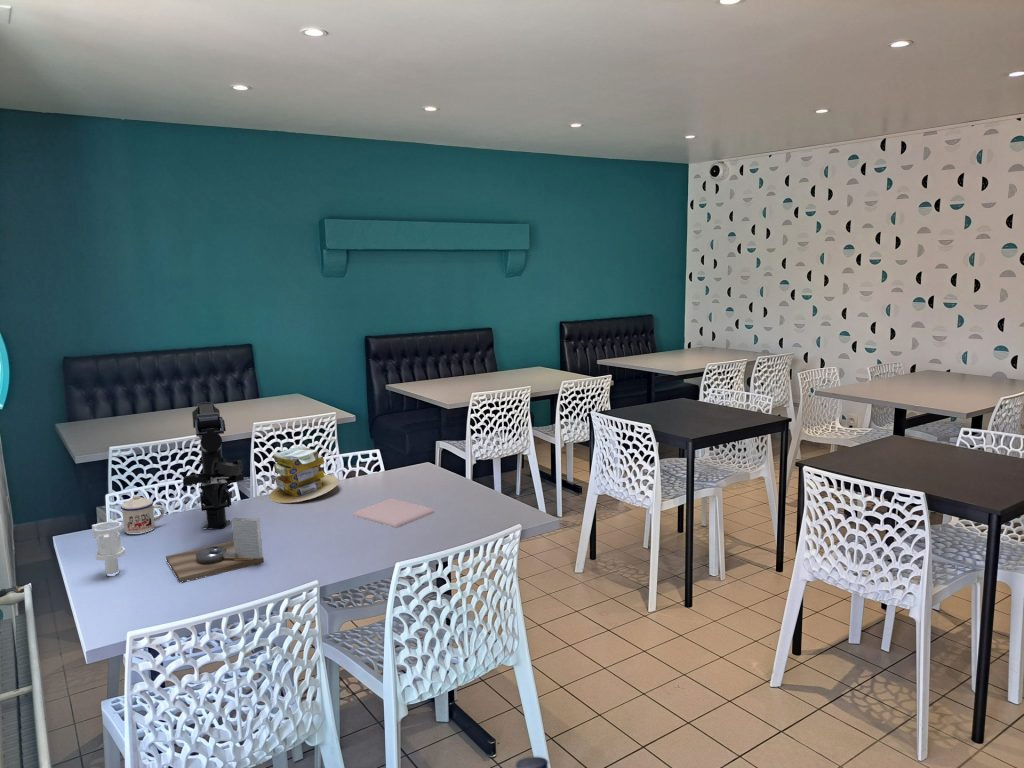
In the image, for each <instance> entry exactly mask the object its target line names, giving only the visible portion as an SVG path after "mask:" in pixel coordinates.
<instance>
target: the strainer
mask: <svg viewBox="0 0 1024 768" xmlns="http://www.w3.org/2000/svg"><path fill="white" fill-rule="evenodd" d="M122 523H123V522H121V521H115V520H113V521H112V520H111V521H105V522H103V521H101V522H99V523H96V524H95V523H94V524H91V529H92V530H91V531H92V536H93V539H96V545H97V551H96V552H95V554H94V555H95V559H96V560H98V561H104V566H105V574H113V573H116V572H118V571H119V561H118V558H121V557H123V556H124V555H125V554H126V549H125V547H124V546H122V541H121V533H120V532H119V531H121V530H122V529H123V524H122ZM113 526H115V527H113ZM107 527H112V528H108V529H107ZM119 572H120V571H119Z"/></svg>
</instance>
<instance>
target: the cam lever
mask: <svg viewBox="0 0 1024 768" xmlns="http://www.w3.org/2000/svg"><path fill="white" fill-rule="evenodd" d="M231 525H232V526H231V528H232V538H233V541H234V550H235V551H227V549H226V548H225V547H220V546H215V547H209V546H207V547H208V548H205V547H203V548H204V549H202V550H199V551H198V552H197V553H196V561H197V562H200V563H213V562H217V561H220V560H222V559H224V558H261V557H262V556H263V543H262V534H261V533H262V531H261V520H260V517H235V518H233V519H232V520H231ZM263 557H264V556H263Z"/></svg>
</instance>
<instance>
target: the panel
mask: <svg viewBox="0 0 1024 768" xmlns="http://www.w3.org/2000/svg"><path fill="white" fill-rule="evenodd" d="M431 513H432V514H434V513H435V509H433V508H431V507H428V506H424V505H420V504H417V503H412V502H408V501H404V500H399V499H396V498H392V497H390V498H389V499H388V498H387V499H386V500H383V501H380V502H378V503H375V504H372V505H369V506H366V507H364V508H363V507H362V508H361V509H359V510H355V512H354V513H352V516H353V515H354V516H353V517H355V516H357V517H356V518H359V517H361V518H360V519H362V518H364V519H363V520H366V519H367V520H366V521H369V520H371V521H370V522H373V521H375V522H374V523H376V522H378V523H377V524H380V523H382V524H381V525H383V524H386V525H385V526H387V525H390V526H393V527H392V528H394V527H396V528H395V529H397V527H398V528H400V527H402V526H401V525H403V526H405V525H407V524H406V523H408V524H410V523H412V522H415V521H417V520H420V519H422V518H424V517H426V516H429V515H431ZM421 517H422V518H421ZM419 518H420V519H419ZM414 520H415V521H414ZM409 522H410V523H409ZM404 524H405V525H404ZM390 526H389V527H390ZM399 526H400V527H399Z"/></svg>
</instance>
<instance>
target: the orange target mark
mask: <svg viewBox="0 0 1024 768" xmlns="http://www.w3.org/2000/svg"><path fill="white" fill-rule="evenodd" d="M253 559H254V558H235V559H234V560H253Z"/></svg>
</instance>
